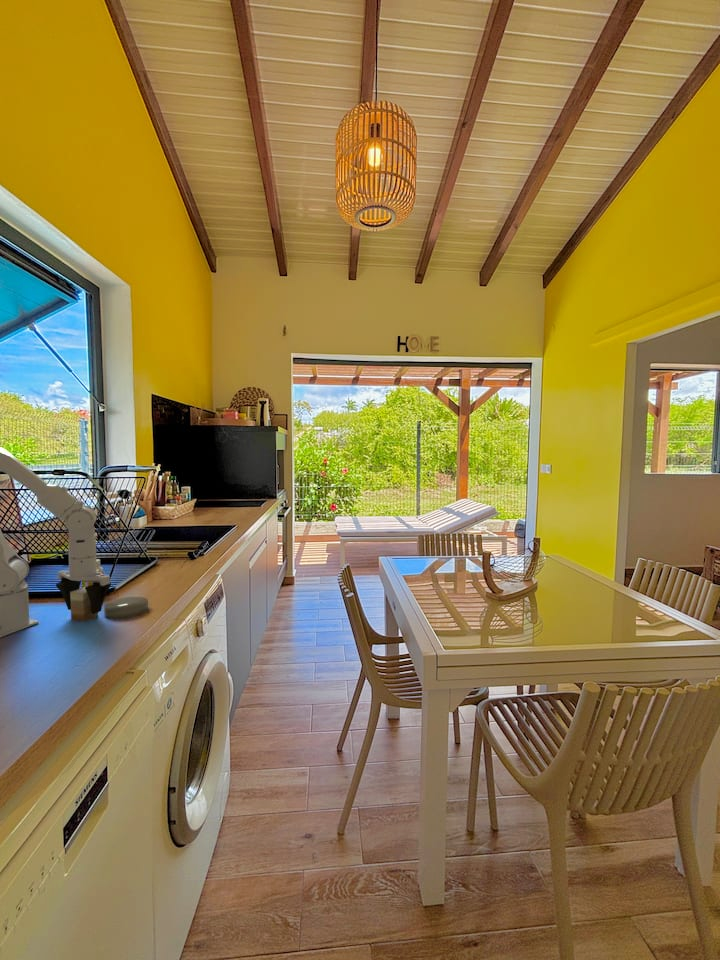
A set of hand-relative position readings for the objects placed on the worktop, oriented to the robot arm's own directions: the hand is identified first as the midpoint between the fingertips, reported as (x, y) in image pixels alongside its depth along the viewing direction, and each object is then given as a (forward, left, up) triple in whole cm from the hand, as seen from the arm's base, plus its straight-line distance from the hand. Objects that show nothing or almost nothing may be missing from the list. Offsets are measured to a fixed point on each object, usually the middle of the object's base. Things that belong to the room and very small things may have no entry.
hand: (84, 610), depth 110 cm
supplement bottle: (+14, +13, -2) cm, 19 cm away
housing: (0, 0, -2) cm, 2 cm away
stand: (+7, -6, -2) cm, 9 cm away
